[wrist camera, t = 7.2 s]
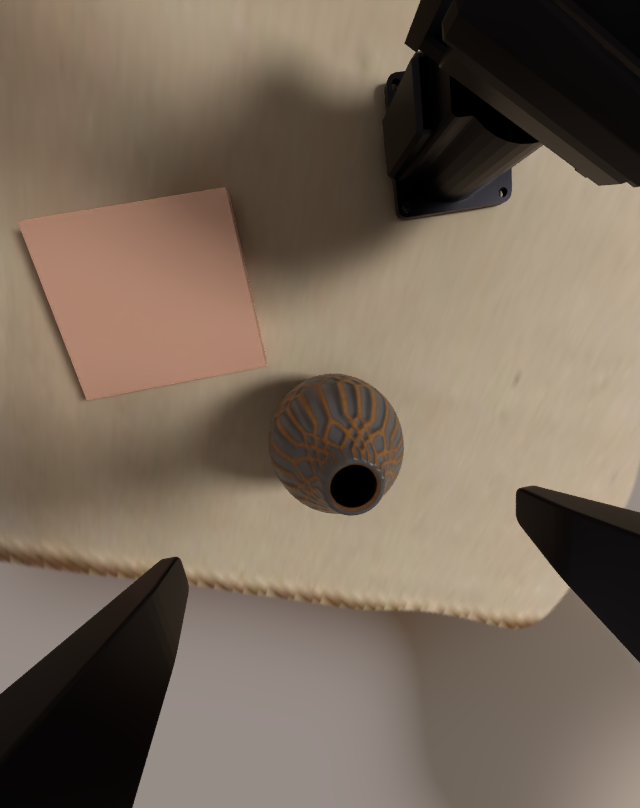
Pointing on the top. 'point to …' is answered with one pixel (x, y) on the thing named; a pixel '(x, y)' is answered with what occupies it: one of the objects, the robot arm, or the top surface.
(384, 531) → the top surface
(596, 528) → the robot arm
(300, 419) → the vase
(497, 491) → the top surface
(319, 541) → the top surface
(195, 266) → the tile
